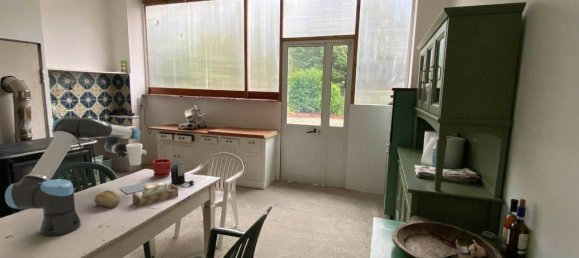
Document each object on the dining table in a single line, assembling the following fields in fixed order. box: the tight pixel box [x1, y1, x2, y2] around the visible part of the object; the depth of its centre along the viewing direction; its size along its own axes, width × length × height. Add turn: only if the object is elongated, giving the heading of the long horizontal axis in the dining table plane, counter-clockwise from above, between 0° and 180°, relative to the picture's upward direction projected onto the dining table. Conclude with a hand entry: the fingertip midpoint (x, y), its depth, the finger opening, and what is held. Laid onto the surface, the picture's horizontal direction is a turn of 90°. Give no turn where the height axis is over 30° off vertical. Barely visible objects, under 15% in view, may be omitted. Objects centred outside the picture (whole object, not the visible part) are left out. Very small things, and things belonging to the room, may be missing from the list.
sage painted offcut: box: [141, 186, 170, 197], centre depth 175 cm, size 14×4×2 cm, turn 138°
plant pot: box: [152, 158, 172, 178], centre depth 220 cm, size 13×13×12 cm
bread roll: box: [93, 190, 120, 209], centre depth 165 cm, size 10×15×8 cm, turn 71°
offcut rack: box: [131, 183, 179, 208], centre depth 175 cm, size 24×8×6 cm, turn 138°
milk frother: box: [170, 160, 196, 186], centre depth 204 cm, size 14×16×15 cm
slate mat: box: [118, 182, 148, 195], centre depth 193 cm, size 15×15×1 cm
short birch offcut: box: [144, 181, 168, 193], centre depth 175 cm, size 12×4×2 cm, turn 138°
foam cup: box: [125, 142, 143, 166], centre depth 189 cm, size 10×9×13 cm
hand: (138, 154), depth 186 cm, fingers closed on foam cup, 9 cm apart
